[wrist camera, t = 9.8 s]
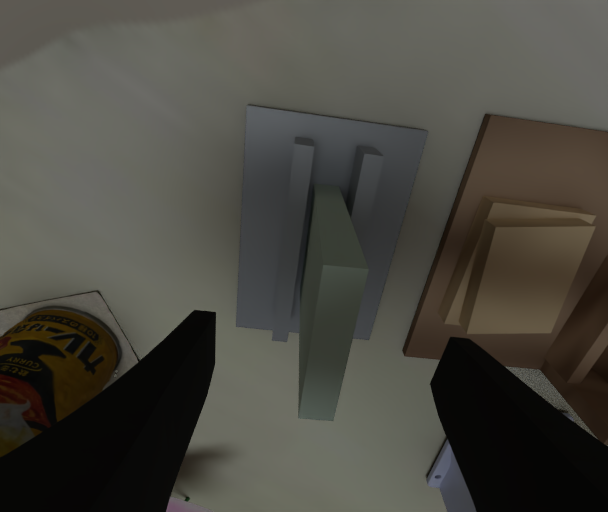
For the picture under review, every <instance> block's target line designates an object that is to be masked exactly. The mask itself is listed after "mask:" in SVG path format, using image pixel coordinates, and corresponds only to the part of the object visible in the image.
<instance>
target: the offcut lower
mask: <svg viewBox="0 0 608 512" xmlns="http://www.w3.org/2000/svg"><path fill="white" fill-rule="evenodd" d="M595 217H596V215H594V214H591V213H589V212H587V211H585V210H582V209H580V208H572V207H565V206H557V205H549V204H542V203H534V202H526V201H519V200H511V199H504V198H496V197H488V196H483V197H482V200H481V203H480V205H479V208H478V210H477V213H476V215H475V218H474V221H473V223H472V226H471V228H470V231H469V233H468V236H467V239H466V241H465V244H464V246H463V249H462V251H461V254H460V257H459V259H458V262H457V264H456V267H455V269H454V272H453V275H452V277H451V280H450V282H449V285H448V287H447V290H446V293H445V295H444V298H443V300H442V303H441V306H440V308H439V311H438V314H439V316H440V317H441V319H442V321H443V322H444V324H452V325H460V323H459V318H460V314H461V310H462V306H463V303H464V299H465V295H466V291H467V287H468V283H469V279H470V275H471V271H472V267H473V263H474V259H475V256H476V252H477V248H478V244H479V240H480V236H481V232H482V228H483V224H484V220H485V219H552V218H580V219H582V220H584V221H586V222H588V223H590V224H592V223H593V221H594V219H595Z"/></svg>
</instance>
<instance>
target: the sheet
mask: <svg viewBox="0 0 608 512" xmlns="http://www.w3.org/2000/svg"><path fill="white" fill-rule="evenodd" d="M368 271H369V268H368V266H367V263H366V260H365V257H364V255H363V252H362V249H361V246H360V244H359V241H358V238H357V235H356V232H355V230H354V227H353V224H352V221H351V219H350V216H349V213H348V210H347V207H346V205H345V202H344V199H343V196H342V194H341V191H340V188H339V186H331V185H322V184H314V186H313V194H312V201H311V209H310V217H309V224H308V232H307V240H306V247H305V255H304V263H303V270H302V278H301V286H300V327H299V411H298V418H300V419H314V420H328V421H333V420H334V415H335V411H336V407H337V403H338V398H339V394H340V390H341V386H342V381H343V377H344V373H345V369H346V364H347V360H348V356H349V352H350V347H351V343H352V339H353V335H354V330H355V326H356V322H357V318H358V313H359V309H360V305H361V301H362V296H363V292H364V288H365V284H366V279H367V275H368Z"/></svg>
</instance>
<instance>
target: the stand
mask: <svg viewBox="0 0 608 512" xmlns="http://www.w3.org/2000/svg"><path fill="white" fill-rule="evenodd" d="M427 134H428V131H426V130H422V129H415V128H408V127H401V126H394V125H387V124H380V123H373V122H366V121H359V120H352V119H345V118H338V117H331V116H324V115H317V114H310V113H303V112H296V111H289V110H282V109H275V108H268V107H261V106H254V105H247V111H246V131H245V152H244V173H243V193H242V214H241V234H240V255H239V275H238V296H237V317H236V327H245V328H255V329H265V330H273V336H272V340H273V341H283V342H287V339H288V332H295V333H299V327H300V286H301V278H302V270H303V263H304V255H305V247H306V240H307V232H308V224H309V217H310V209H311V201H312V194H313V186H314V184H322V185H331V186H339V188H340V191H341V194H342V196H343V199H344V202H345V205H346V207H347V210H348V213H349V216H350V219H351V221H352V224H353V227H354V230H355V232H356V235H357V238H358V241H359V244H360V246H361V249H362V252H363V255H364V257H365V260H366V263H367V266H368V268H369V271H368V275H367V279H366V284H365V288H364V292H363V296H362V301H361V305H360V309H359V313H358V318H357V322H356V326H355V330H354V335H353V338H354V339H364V340H369V338H370V334H371V331H372V327H373V324H374V320H375V317H376V313H377V310H378V306H379V303H380V299H381V296H382V292H383V289H384V285H385V282H386V278H387V275H388V271H389V268H390V264H391V261H392V257H393V254H394V250H395V247H396V243H397V240H398V236H399V233H400V229H401V226H402V222H403V219H404V215H405V212H406V208H407V205H408V201H409V198H410V194H411V191H412V187H413V184H414V180H415V177H416V173H417V170H418V166H419V163H420V159H421V155H422V152H423V148H424V145H425V141H426V138H427Z"/></svg>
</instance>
